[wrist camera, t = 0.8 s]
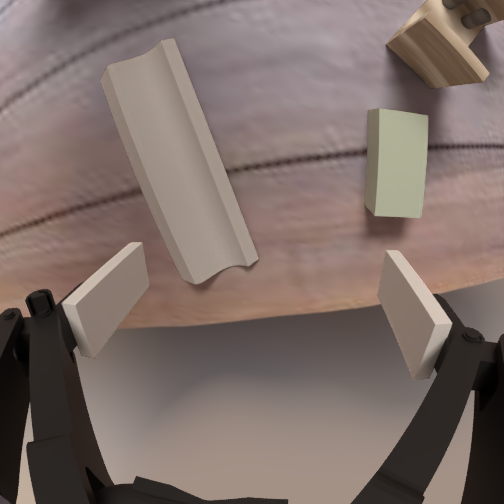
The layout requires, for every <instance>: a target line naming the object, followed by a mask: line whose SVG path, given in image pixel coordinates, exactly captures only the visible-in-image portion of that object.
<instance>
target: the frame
mask: <svg viewBox="0 0 504 504" xmlns="http://www.w3.org/2000/svg"><path fill="white" fill-rule="evenodd" d="M501 20H504V0H427V1H426V2H425V3H424V4H423V5H422V6H421V7H420V8H419V9H418V10H417V11H416V12H415V13H414V15H413V16H412V17H411V18H410V19H409V20H408V21H407V22H406V23H405V24H404V25H403V26H402V27H401V29H400V30H399V31H398V32H397V33H396V34H395V35H394V36H393V37H392V38H391V39H390V40H389V42H388V43H387V44H386V45H387V46H388V47H389V48H390V49H391V50H392V51H393V52H394V53H396V54H397V55H398V56H399V57H400V58H401V59H402V60H403V61H404V62H405V63H406V64H407V65H408V66H409V67H410V68H411V69H412V70H413V71H414V72H415V73H416V74H417V75H418V76H419V77H420V78H421V79H422V80H423V81H424V82H425V83H426V84H427V85H428V86H429V87H430V88H431V89H436V88H442V87H449V86H456V85H463V84H471V83H480V82H484V81H485V79H486V78H487V76H488V75H489V74H490V73H489V72H488V71H487V69H486V68H485V67H484V66H483V64H482V63H481V62H480V61H479V59H478V58H477V57H476V56H475V55H474V53H473V52H472V51H471V50H470V49H469V48H468V46H469V45H470V44H471V42H472V41H473V40H474V38H475V37H476V36H477V35H478V33H479V32H480V31H481V29H482V28H483V27H484V26H486V25H489V24H492V23H495V22H498V21H501Z"/></svg>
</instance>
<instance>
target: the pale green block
mask: <svg viewBox="0 0 504 504" xmlns="http://www.w3.org/2000/svg"><path fill="white" fill-rule="evenodd" d="M427 146H428V115H422V114H416V113H410V112H403V111H395V110H387V109H372V110H368V147H367V174H366V192H365V206H366V207H367V208H368V209H369V210H370V211H371V213H372V214H373V215H374V216H387V217H409V218H421V214H422V206H423V197H424V188H425V177H426V164H427Z"/></svg>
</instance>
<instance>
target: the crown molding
mask: <svg viewBox="0 0 504 504" xmlns="http://www.w3.org/2000/svg"><path fill="white" fill-rule="evenodd" d="M101 84H102V87H103V90H104V93H105V96H106V99H107V102H108V104H109V107H110V110H111V113H112V116H113V118H114V121H115V124H116V127H117V129H118V132H119V135H120V137H121V140H122V143H123V145H124V148H125V150H126V153H127V156H128V158H129V161H130V163H131V166H132V168H133V171H134V173H135V176H136V178H137V180H138V183H139V185H140V188H141V190H142V192H143V195H144V197H145V199H146V202H147V204H148V206H149V209H150V211H151V213H152V216H153V218H154V220H155V222H156V225H157V227H158V229H159V231H160V233H161V236H162V238H163V240H164V242H165V244H166V246H167V249H168V251H169V253H170V255H171V257H172V259H173V261H174V263H175V265H176V268H177V270H178V272H179V274H180V276H181V278H182V280H185V281H188V282H190V283H193V284H195V285H196V284H200V283H202V282H204V281H205V280H207V279H208V278H210V277H211V276H213V275H214V274H216V273H217V272H219V271H221V270H223V269H225V268H228V267H231V266H236V265H244V266H250V265H251V264H252V263H254V262H255V261H257V260H258V259H259V258H258V255H257V253H256V250H255V247H254V245H253V242H252V239H251V237H250V234H249V231H248V229H247V226H246V224H245V221H244V218H243V216H242V213H241V211H240V208H239V205H238V203H237V200H236V197H235V195H234V192H233V190H232V187H231V184H230V182H229V179H228V177H227V174H226V171H225V169H224V166H223V163H222V161H221V158H220V156H219V153H218V150H217V148H216V145H215V143H214V140H213V137H212V135H211V132H210V130H209V127H208V125H207V122H206V119H205V117H204V114H203V112H202V109H201V106H200V104H199V101H198V99H197V96H196V93H195V91H194V88H193V86H192V83H191V81H190V78H189V75H188V73H187V70H186V68H185V65H184V62H183V60H182V57H181V55H180V52H179V50H178V47H177V44H176V42H175V39H174V38H172V39H166V40H160V42H159V43H158V44H157V45H156V46H155V47H154V48H153V49H151V50H150V51H148V52H147V53H145V54H143V55H141V56H138V57H135V58H131V59H127V60H123V61H120V62H116V63H112V64H111V65H109V66H108V67H107V68H106V70H105V72H104V74H103V76H102V79H101Z"/></svg>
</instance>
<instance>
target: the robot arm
mask: <svg viewBox="0 0 504 504" xmlns="http://www.w3.org/2000/svg"><path fill="white" fill-rule="evenodd" d="M148 287H149V280H148V274H147V268H146V262H145V256H144V249H143V243H142V242H130V243H129V244H128V245H127V246H126V247H124V248H123V249H122V250H121V251H120V252H118V253H117V254H116V255H115V256H114V257H113V258H111V259H110V260H109V261H108V262H107V263H106V264H104V265H103V266H102V267H101V268H100V269H99V270H97V271H96V272H95V273H94V274H93V275H92V276H91V277H90V278H88V279H87V280H86V281H84V282H82V283H81V284H79V285H78V286H77V287H75V288H74V289H73V291H71V292H70V293H69V295H67V296H66V297H65V298H63V299H62V300H61V301H60V302H59V303H58V304H57V305H55V302H54V299H53V296H52V293H51V291H50V290H48V289H41V290H37V291H35V292H33V293H31V294H29V295H28V296H27V297H26V300H25V301H26V304H27V307H28V309H29V312H30V315H31V317H24V318H23V316H22V314H21V311H20V309H18V308H11V309H10V308H9V309H7V310H5V311H4V312H3V313H1V314H0V504H16V499H17V495H18V486H19V473H20V461H21V453H22V445H23V438H24V431H25V425H26V419H27V414H28V408H29V403H30V405H31V418H32V427H33V437H34V441H33V442H28V443H27V447H26V449H27V450H26V451H27V458H28V465H29V471H30V477H31V482H32V487H33V492H34V496H35V501H36V504H288V499H263V498H250V497H247V498H238V499H228V500H213V501H207V500H203V499H201V498H198V497H195V496H193V495H191V494H189V493H187V492H184V491H182V490H180V489H178V488H176V487H173V486H171V485H169V484H164V483H160V482H156V481H152V480H149V479H145V478H141V477H138V476H136V478H135V480H134V483H133V484H118V485H114V483H113V482H112V480H111V478H110V476H109V474H108V472H107V469H106V466H105V464H104V461H103V458H102V456H101V452H100V450H99V447H98V444H97V440H96V437H95V434H94V431H93V428H92V424H91V421H90V418H89V414H88V410H87V406H86V402H85V398H84V394H83V391H82V386H81V382H80V377H79V372H78V367H77V362H76V358H75V354H74V352H73V350H74V348H75V347H76V346H78V349H79V351H80V354H81V355H82V356H86V357H89V358H93V359H95V357H96V356H97V355H98V353H99V352H100V351H101V349H102V348H103V346H104V345H105V344H106V342H107V341H108V340H109V338H110V337H111V336H112V334H113V333H114V332H115V330H116V329H117V328H118V326H119V325H120V324H121V322H122V321H123V320H124V318H125V317H126V316H127V314H128V313H129V312H130V311H131V309H132V308H133V307H134V305H135V304H136V303H137V301H138V300H139V299H140V298H141V296H142V295H143V294H144V293H145V291H146V290H147V289H148ZM377 296H378V298H379V300H380V302H381V305H382V307H383V309H384V311H385V313H386V316H387V318H388V320H389V322H390V325H391V327H392V329H393V332H394V334H395V336H396V339H397V341H398V344H399V346H400V348H401V351H402V353H403V356H404V358H405V361H406V363H407V366H408V369H409V371H410V374H411V376H412V379H413V380H422V379H429V378H430V376H431V374H432V372H433V369H434V368H435V370H436V372H437V376H436V378H435V380H434V382H433V384H432V386H431V387H430V389H429V391H428V393H427V395H426V397H425V399H424V401H423V402H422V404H421V406H420V408H419V409H418V411H417V413H416V414H415V416H414V418H413V419H412V421H411V423H410V425H409V426H408V428H407V429H406V431H405V432H404V434H403V435H402V437H401V439H400V440H399V442H398V443H397V444H396V446H395V448H394V449H393V450H392V452H391V453H390V455H389V456H388V457H387V459H386V460H385V462H384V463H383V465H382V466H381V467H380V468H379V470H378V471H377V472H376V473H375V475H374V476H373V477H372V479H371V480H370V481H369V482H368V483H367V485H366V486H365V487H364V489H363V490H362V491H361V492H360V493H359V495H358V496H357V497H356V498H355V499H354V500H353V502H352V503H351V504H422V503H423V500H424V496H423V494H424V492H425V490H426V488H427V486H428V485H429V483H430V481H431V479H432V478H433V476H434V474H435V472H436V470H437V468H438V466H439V464H440V462H441V461H442V458H443V457H444V455H445V452H446V450H447V448H448V446H449V444H450V442H451V440H452V437H453V435H454V433H455V431H456V428H457V426H458V423H459V421H460V419H461V416H462V413H463V411H464V408H465V406H466V403H467V400H468V397H469V394H470V392H471V390H475V399H474V419H473V432H472V442H471V451H470V458H469V464H468V471H467V476H466V482H465V487H464V492H463V496H462V501H461V504H504V334H502V335H501V337H500V338H499V341H498V343H493V342H486V341H485V339H484V337H483V335H482V334H481V333H479V331H477V330H475V329H473V328H469V327H465V326H464V325H463V324H462V322H461V321H460V319H459V318H458V317H457V315H456V314H455V312H453V310H452V308H451V307H450V306H449V304H448V303H447V302H446V300H445V299H444V298H442V297H441V296H439V295H438V294H432V293H431V292H430V291H429V289H428V288H427V287H426V285H425V284H424V282H423V281H422V280H421V278H420V277H419V276H418V275H417V273H416V272H415V271H414V269H413V268H412V267H411V265H410V264H409V263H408V262H407V260H406V259H405V258H404V257H403V255H402V254H401V253H400V252H399V250H386V251H385V257H384V263H383V269H382V274H381V280H380V285H379V290H378V295H377Z"/></svg>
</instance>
